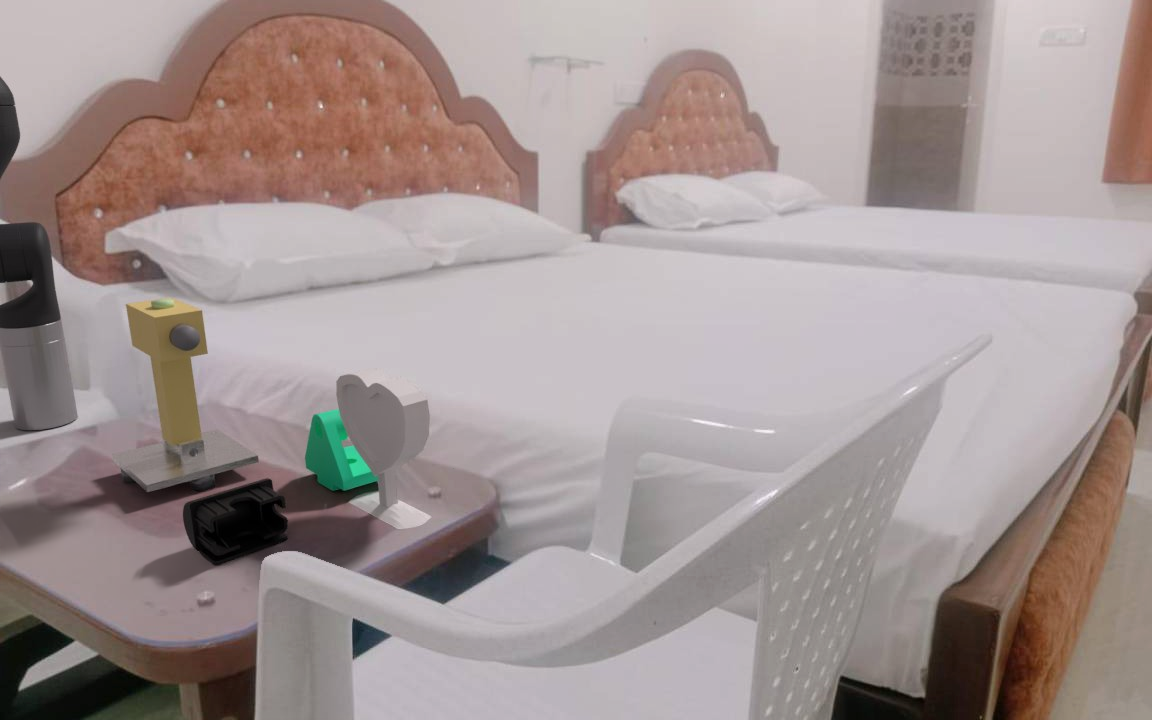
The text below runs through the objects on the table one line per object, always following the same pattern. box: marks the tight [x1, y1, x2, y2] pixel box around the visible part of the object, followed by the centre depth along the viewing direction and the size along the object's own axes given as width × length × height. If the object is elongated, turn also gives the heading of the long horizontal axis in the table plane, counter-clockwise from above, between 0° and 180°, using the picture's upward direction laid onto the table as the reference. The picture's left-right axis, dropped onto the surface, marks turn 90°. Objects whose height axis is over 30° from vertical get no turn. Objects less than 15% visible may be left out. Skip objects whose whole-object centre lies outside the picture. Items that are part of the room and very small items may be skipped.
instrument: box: [125, 297, 209, 446], centre depth 123 cm, size 16×6×20 cm, turn 42°
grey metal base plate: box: [111, 428, 259, 493], centre depth 127 cm, size 15×15×6 cm
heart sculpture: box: [335, 368, 433, 530], centre depth 113 cm, size 16×5×18 cm, turn 45°
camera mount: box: [304, 408, 378, 492], centre depth 123 cm, size 12×8×10 cm, turn 40°
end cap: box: [182, 477, 289, 567], centre depth 106 cm, size 10×7×7 cm
